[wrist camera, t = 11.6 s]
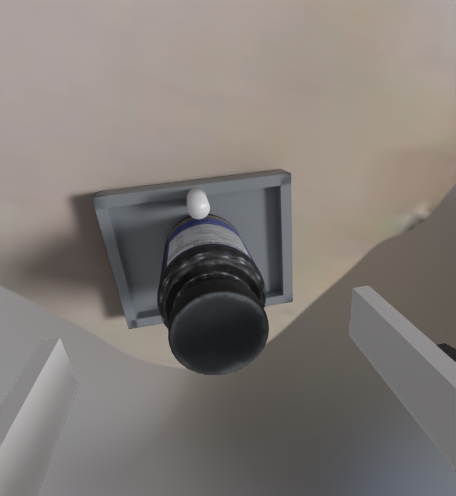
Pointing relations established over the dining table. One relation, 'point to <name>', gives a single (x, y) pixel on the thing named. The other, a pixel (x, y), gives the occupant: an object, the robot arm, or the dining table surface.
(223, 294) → the pill bottle
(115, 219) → the tray
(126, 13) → the dining table surface
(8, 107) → the dining table surface
